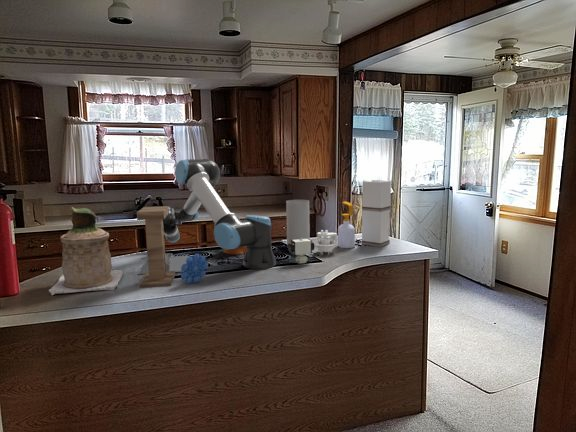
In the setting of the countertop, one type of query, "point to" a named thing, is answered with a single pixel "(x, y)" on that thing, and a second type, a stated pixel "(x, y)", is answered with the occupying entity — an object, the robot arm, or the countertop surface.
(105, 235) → the cookie jar
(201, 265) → the grapes
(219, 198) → the robot arm
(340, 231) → the soap bottle
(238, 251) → the ceramic vessel
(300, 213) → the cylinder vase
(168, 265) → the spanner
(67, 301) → the countertop surface
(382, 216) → the white lidded square box
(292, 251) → the pneumatic valve
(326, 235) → the mechanical part
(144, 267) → the rubber mat
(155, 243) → the stand
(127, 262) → the countertop surface
